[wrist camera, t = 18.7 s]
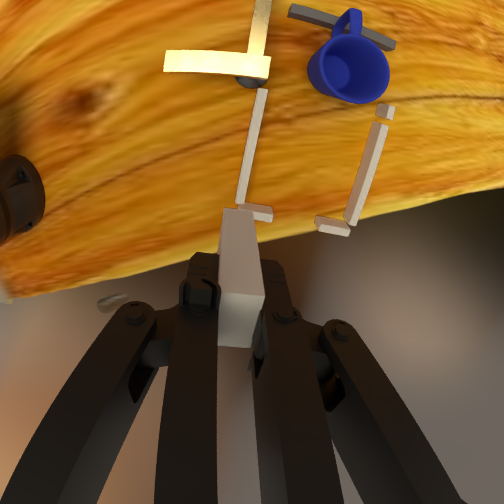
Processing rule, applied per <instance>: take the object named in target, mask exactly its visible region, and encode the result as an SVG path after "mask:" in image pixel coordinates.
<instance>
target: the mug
mask: <svg viewBox="0 0 504 504" xmlns="http://www.w3.org/2000/svg"><path fill="white" fill-rule="evenodd" d="M349 22H350V25H349V32H348V34H342V32H343V30H344V28H345V26H346V25H347V24H348V23H349ZM361 32H362V12H361V11H360V10H358V9H355V8H350V9H348V10H347V11H346V12H345V13H344V14H343V15H342V16H341V17H340V18H339V19H338V20H337V22H336V23H335V25H334V27H333V31H332V38H331V39H330V40H329V41H328V42H327V43H325V44H324V45H323V46H322V47H321V48H320V49H319V50H318V51H317V52H316V53H315V54H314V55H313V56H312V57H311V59H310V61H309V63H308V68H307V71H308V77H309V79H310V81H311V83H312V85H313V86H314V87H315V88H316V89H317V90H318V91H320V92H321V93H323V94H326V95H329V96H332V97H335V98H338V99H341V100H344V101H347V102H350V103H356V104H364V103H369V102H372V101H374V100H376V99H377V98H379V97H380V96H381V95H382V94H383V93H384V91H385V90H386V88H387V86H388V83H389V78H390V71H389V65H388V62H387V59H386V57H385V55H384V54H383V52H382V51H381V50H380V48H379V47H378V46H377V45H376V44H375V43H373V42H372V41H370V40H369V39H367V38H365V37H363V36H361Z"/></svg>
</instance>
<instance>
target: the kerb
mask: <svg viewBox="0 0 504 504" xmlns="http://www.w3.org/2000/svg"><path fill="white" fill-rule="evenodd" d="M287 17H290V18H294V19H298V20H302V21H306V22H309V23H313V24H316V25H319V26H323V27H326V28H329V29H332V30H333V27H334V25H335V23H336V22H337V20H338V19H339V18H340V17H337V16H334V15H331V14H328V13H325V12H322V11H319V10H316V9H312V8H309V7H305V6H301V5H297V4H293V3H292V5H291V6H290V8H289V12H288V16H287ZM349 25H350V22H349V23H348V24H347V25H346V26H345V28H344V30H343V32H342V33H343V34H348V32H349ZM361 36H363V37H365V38H367V39H369V40H370V41H372V42H373V43H375V44H376V45H377V46H378V47H379V48H380V49H383V50H385V51H391V50H395V45H396V41H394V40H392V39H390V38H388V37H386V36H384V35H382V34H380V33H378V32H375V31H373V30H371V29H368V28H366V27H364V26H362V32H361Z"/></svg>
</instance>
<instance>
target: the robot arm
mask: <svg viewBox="0 0 504 504" xmlns="http://www.w3.org/2000/svg"><path fill="white" fill-rule="evenodd" d="M44 206H45V196H44V189H43V185H42V182H41V179H40V177H39V174H38V172H37V171H36V169H35V168H34V166H33V165H32V164H31V163H30V162H29V161H28V160H27V159H26V158H24V157H22V156H19V155H11V156H9V157H7V158H5V159H3V160H1V161H0V245H1V244H2V243H3V242H4V241H5V240H6V239H8V238H10V237H13V236H16V235H19V234H22V233H25V232H27V231H29V230H31V229H32V228H33V227H34V226H35V225H36V224H37V223H38V222H39V221H40V219H41V218H42V215H43V212H44ZM286 283H287V282H286V278H285V274H284V270H283V267H282V266H281V265H280V264H279V263H278V262H277V261H274V260H265V259H260V258H259V251H258V244H257V237H256V230H255V224H254V217H253V212H252V211H245V210H238V209H231V208H224V211H223V218H222V225H221V231H220V238H219V245H218V253H217V254H210V253H202V252H196V253H195V254H194V255H193V256H192V257H191V259H190V263H189V268H188V274H187V278H186V279H185V280H183V281H182V282H181V284H180V286H179V304H177V305H176V306H174V307H172V308H170V309H166V310H158V311H155V310H154V309H153V308H152V307H151V306H150V305H148V304H146V303H144V302H139V301H133V302H128V303H126V304H123V305H122V306H121V307H120V308H119V309H118V310H117V311H116V312H115V314H114V315H113V316H112V318H111V319H110V320H109V322H108V323H107V324H106V326H105V327H104V328H103V330H102V331H101V333H100V334H99V335H98V337H97V338H96V340H95V341H94V342H93V344H92V345H91V346H90V348H89V349H88V351H87V352H86V354H85V355H84V356H83V358H82V359H81V361H80V362H79V363H78V365H77V366H76V368H75V369H74V371H73V372H72V374H71V375H70V377H69V378H68V380H67V381H66V383H65V384H64V386H63V388H62V389H61V390H60V392H59V394H58V395H57V397H56V398H55V400H54V402H53V403H52V405H51V406H50V408H49V409H48V411H47V413H46V414H45V416H44V418H43V419H42V421H41V423H40V425H39V426H38V428H37V430H36V431H35V433H34V435H33V437H32V438H31V440H30V442H29V444H28V446H27V447H26V449H25V451H24V453H23V455H22V457H21V459H20V460H19V462H18V464H17V466H16V468H15V470H14V472H13V475H12V476H11V478H10V481H9V483H8V485H7V487H6V489H5V491H4V493H3V496H2V498H1V500H0V504H96V503H97V501H98V499H99V496H100V494H101V492H102V489H103V487H104V485H105V482H106V480H107V478H108V476H109V473H110V471H111V469H112V467H113V464H114V462H115V460H116V458H117V455H118V453H119V451H120V449H121V446H122V445H123V442H124V440H125V438H126V436H127V434H128V432H129V429H130V427H131V425H132V423H133V421H134V419H135V417H136V415H137V413H138V411H139V408H140V406H141V404H142V402H143V400H144V398H145V396H146V394H147V392H148V390H149V388H150V386H151V384H152V381H153V379H154V377H155V376H156V374H157V372H158V370H159V367H162V366H168V371H167V378H166V385H165V392H164V399H163V407H162V416H161V423H160V432H159V442H158V452H157V464H156V476H155V477H156V478H155V493H154V504H218V498H217V497H218V496H217V442H216V441H217V439H216V438H217V435H216V434H217V427H216V426H217V425H216V424H217V419H216V418H217V417H216V416H217V409H216V408H217V353H218V352H217V351H218V345H220V346H231V347H244V348H250V347H251V343H252V341H253V352H252V355H251V358H250V361H249V365H248V369H247V370H250V369H251V371H252V385H253V399H254V413H255V427H256V440H257V453H258V465H259V479H260V491H261V503H262V504H344V500H343V495H342V490H341V485H340V479H339V474H338V470H337V464H336V459H335V454H334V450H333V445H332V441H333V443H334V445H335V447H336V449H337V451H338V453H339V455H340V457H341V459H342V461H343V463H344V465H345V467H346V469H347V471H348V473H349V475H350V477H351V479H352V481H353V483H354V485H355V487H356V489H357V491H358V493H359V495H360V497H361V499H362V501H363V503H364V504H467V503H466V502H464V501H463V500H462V499H461V498H460V496H459V495H458V493H457V491H456V489H455V487H454V485H453V484H452V482H451V480H450V478H449V477H448V475H447V473H446V471H445V469H444V468H443V466H442V464H441V462H440V461H439V460H438V457H437V456H436V454H435V452H434V451H433V449H432V447H431V445H430V444H429V442H428V441H427V439H426V437H425V436H424V434H423V432H422V431H421V429H420V427H419V426H418V424H417V423H416V421H415V419H414V418H413V416H412V414H411V413H410V411H409V410H408V408H407V407H406V405H405V403H404V402H403V400H402V399H401V397H400V396H399V394H398V393H397V391H396V389H395V388H394V386H393V385H392V384H391V382H390V380H389V379H388V377H387V376H386V374H385V373H384V371H383V370H382V368H381V367H380V365H379V364H378V362H377V361H376V359H375V358H374V356H373V355H372V353H371V352H370V350H369V349H368V347H367V346H366V344H365V343H364V342H363V340H362V339H361V337H360V336H359V334H358V333H357V331H356V330H355V329H354V328H353V327H352V326H351V325H350V324H348V323H346V322H345V321H342V320H339V319H338V320H337V319H333V320H330V321H327V322H326V324H325V325H324V326H320V325H317V324H313V323H310V322H307V321H305V320H304V319H302V316H301V314H300V312H299V311H298V310H297V309H296V308H295V307H293V306H292V302H291V298H290V294H289V290H288V286H287V284H286ZM331 439H332V440H331Z"/></svg>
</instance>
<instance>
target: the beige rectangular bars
mask: <svg viewBox="0 0 504 504" xmlns="http://www.w3.org/2000/svg"><path fill="white" fill-rule="evenodd" d="M267 93H268V90H267V89H262V88H257V93H256V98H255V102H254V107H253V112H252V116H251V121H250V126H249V131H248V136H247V140H246V145H245V150H244V155H243V160H242V165H241V171H240V176H239V181H238V186H237V191H236V199H235V203H238V208H237V209H238V210H245V211H252V212H253V217H254V220H260V221H266V222H271V223H272V219H273V210H272V207H270V206H265V205H259V204H253V203H247V202H244V201H245V196H246V191H247V186H248V181H249V177H250V172H251V167H252V162H253V157H254V153H255V148H256V143H257V139H258V134H259V129H260V125H261V120H262V115H263V111H264V106H265V102H266V97H267ZM395 108H396V107H393V106H391V105H387V104H381V103H378V106H377V110H376V114H375V115H376V116H379V117H381V118H385V119H389V120H392V119H393V115H394V112H395ZM388 128H389V126H386V125H384V124H381V123H378V122H375V121H373V123H372V126H371V130H370V134H369V137H368V140H367V144H366V147H365V151H364V154H363V157H362V161H361V164H360V167H359V170H358V173H357V176H356V179H355V183H354V186H353V189H352V192H351V195H350V197H349V200H348V203H347V206H346V209H345V212H344V215H343V217H344V218H345V220H346V221H347V223H348V224H349V225H353V226H356V224H357V222H358V219H359V216H360V214H361V211H362V208H363V205H364V203H365V200H366V197H367V194H368V191H369V188H370V186H371V183H372V180H373V177H374V174H375V171H376V168H377V165H378V161H379V158H380V155H381V152H382V149H383V145H384V142H385V139H386V135H387V132H388ZM314 223H315V225H316V227H317V229H318V231H321V232H326V233H331V234H337V235H342V236H347V237H348V235H349V233H350V228H349V227H348V225H347V224H346V223H345V221H341V220H336V219H331V218H327V217H322V216H317V215H316V218H315V221H314Z"/></svg>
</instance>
